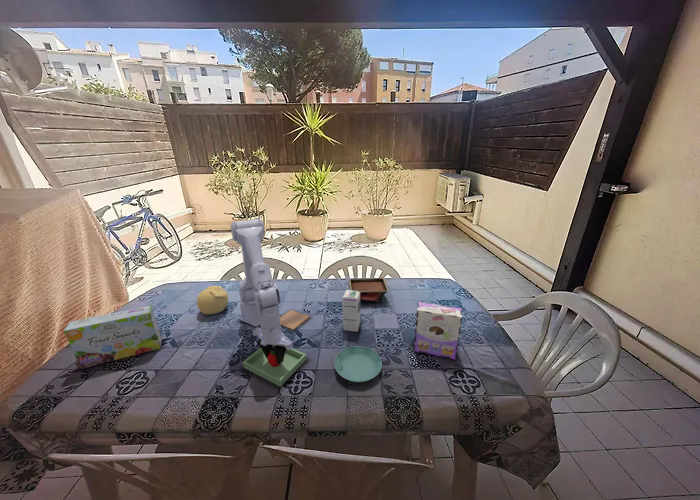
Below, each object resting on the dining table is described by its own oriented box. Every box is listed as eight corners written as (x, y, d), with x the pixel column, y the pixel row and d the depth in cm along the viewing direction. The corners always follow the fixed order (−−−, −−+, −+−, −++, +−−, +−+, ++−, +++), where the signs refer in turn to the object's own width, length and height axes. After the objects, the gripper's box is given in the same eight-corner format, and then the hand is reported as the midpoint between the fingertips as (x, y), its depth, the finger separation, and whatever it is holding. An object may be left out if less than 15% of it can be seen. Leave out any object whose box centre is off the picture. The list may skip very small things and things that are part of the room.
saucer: (336, 351, 92) (336, 345, 91) (379, 352, 91) (380, 346, 90) (332, 387, 78) (332, 380, 77) (383, 388, 78) (384, 381, 77)
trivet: (273, 323, 107) (273, 321, 107) (290, 311, 115) (290, 309, 115) (293, 331, 102) (293, 329, 102) (309, 317, 111) (309, 316, 110)
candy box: (455, 349, 93) (462, 307, 87) (455, 360, 88) (463, 317, 82) (414, 340, 97) (418, 300, 91) (412, 351, 92) (416, 309, 86)
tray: (243, 368, 85) (242, 362, 84) (271, 345, 95) (270, 339, 94) (280, 388, 78) (279, 381, 77) (306, 360, 88) (306, 354, 87)
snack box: (79, 371, 84) (61, 330, 79) (86, 359, 89) (69, 320, 84) (160, 349, 93) (149, 311, 88) (162, 339, 98) (152, 303, 93)
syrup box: (358, 332, 102) (358, 298, 97) (342, 330, 103) (342, 296, 98) (360, 323, 107) (360, 290, 102) (345, 321, 108) (345, 289, 103)
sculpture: (232, 311, 115) (228, 289, 111) (201, 321, 108) (195, 297, 105) (227, 300, 124) (223, 279, 120) (197, 308, 117) (192, 286, 114)
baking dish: (386, 310, 119) (390, 289, 116) (346, 304, 118) (349, 283, 116) (382, 295, 133) (386, 277, 130) (346, 290, 132) (349, 271, 129)
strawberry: (265, 365, 86) (263, 352, 84) (275, 356, 89) (273, 344, 87) (275, 370, 84) (274, 357, 82) (285, 361, 87) (284, 349, 85)
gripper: (242, 323, 81) (248, 359, 86) (279, 338, 75) (283, 377, 79) (260, 312, 87) (265, 346, 92) (296, 325, 80) (299, 361, 85)
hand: (275, 359), depth 86 cm, fingers closed on strawberry, 4 cm apart
